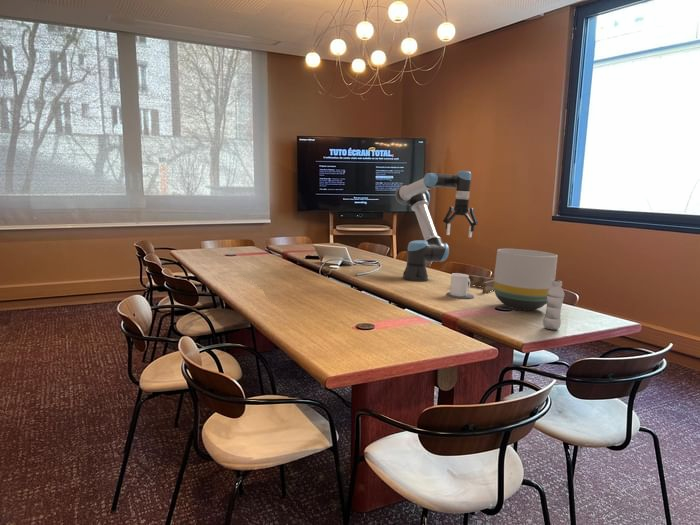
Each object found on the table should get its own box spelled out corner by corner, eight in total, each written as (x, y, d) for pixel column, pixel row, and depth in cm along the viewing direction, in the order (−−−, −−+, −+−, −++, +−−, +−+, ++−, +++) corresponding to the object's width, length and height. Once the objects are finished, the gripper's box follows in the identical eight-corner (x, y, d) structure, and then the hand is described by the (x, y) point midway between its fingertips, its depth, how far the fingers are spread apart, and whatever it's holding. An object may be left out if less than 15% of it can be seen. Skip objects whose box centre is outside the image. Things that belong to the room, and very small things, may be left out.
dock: (454, 288, 265) (455, 277, 264) (467, 284, 279) (468, 274, 278) (485, 293, 254) (486, 283, 253) (497, 289, 268) (498, 279, 267)
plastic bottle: (539, 326, 194) (545, 278, 191) (554, 327, 194) (560, 279, 191) (547, 331, 187) (553, 282, 184) (563, 331, 188) (569, 282, 185)
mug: (475, 296, 244) (477, 275, 243) (457, 297, 238) (459, 276, 237) (463, 292, 252) (465, 272, 250) (446, 293, 246) (448, 273, 244)
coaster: (441, 295, 244) (441, 294, 244) (453, 291, 255) (453, 290, 255) (467, 300, 236) (467, 299, 236) (478, 296, 247) (478, 295, 247)
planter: (563, 316, 214) (570, 257, 210) (508, 315, 209) (514, 255, 205) (531, 302, 240) (537, 249, 236) (481, 301, 235) (487, 247, 231)
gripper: (439, 197, 271) (436, 234, 274) (480, 199, 256) (476, 238, 259) (445, 197, 277) (442, 233, 280) (486, 200, 262) (482, 238, 265)
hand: (458, 236), depth 270 cm, fingers open, 13 cm apart
